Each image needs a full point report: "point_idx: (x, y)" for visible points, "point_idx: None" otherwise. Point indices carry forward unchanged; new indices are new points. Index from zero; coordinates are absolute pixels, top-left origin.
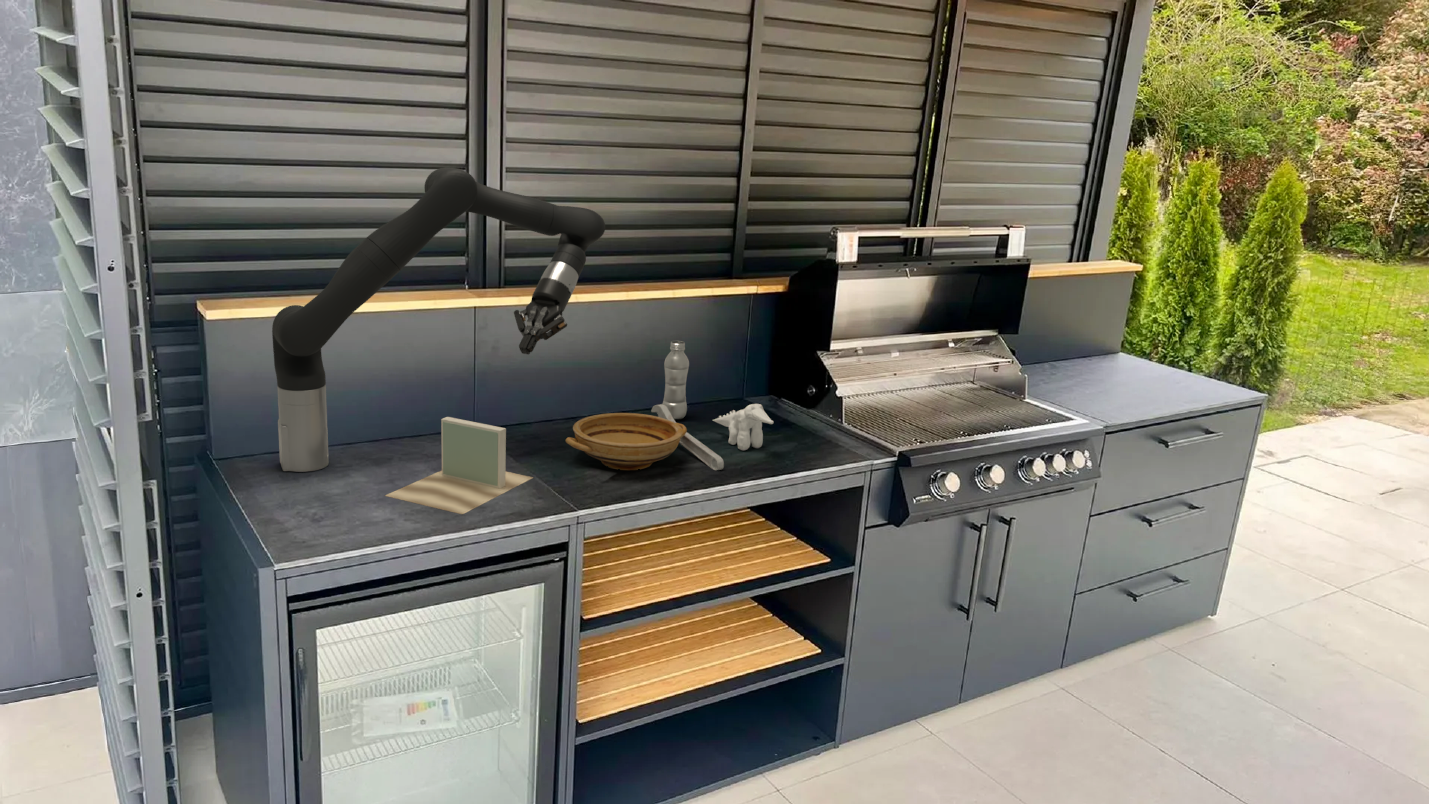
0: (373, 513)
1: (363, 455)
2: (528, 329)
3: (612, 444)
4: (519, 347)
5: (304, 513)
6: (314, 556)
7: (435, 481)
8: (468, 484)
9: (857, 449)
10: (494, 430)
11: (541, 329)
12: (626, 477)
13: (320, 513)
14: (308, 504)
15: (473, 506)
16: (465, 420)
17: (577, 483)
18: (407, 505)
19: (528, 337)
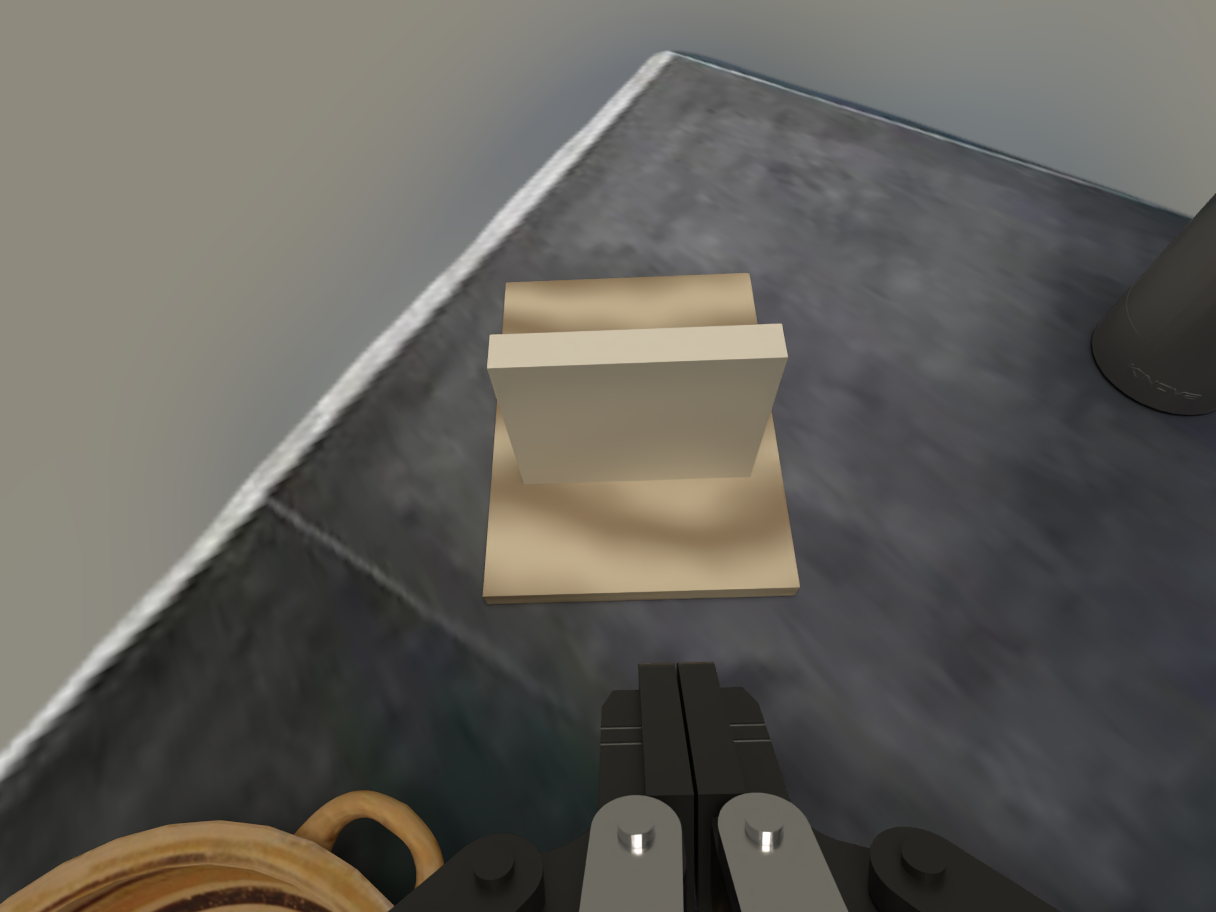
0: (716, 239)
1: (1150, 514)
2: (758, 859)
3: (147, 830)
4: (738, 693)
5: (833, 178)
6: (645, 89)
7: None
8: None
9: None
10: (517, 336)
11: (510, 898)
12: None
13: (807, 192)
14: (874, 208)
15: (511, 326)
16: (691, 359)
17: (351, 705)
18: None
19: (679, 765)
